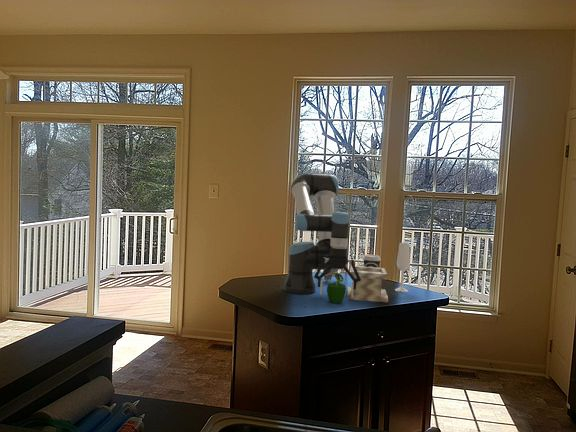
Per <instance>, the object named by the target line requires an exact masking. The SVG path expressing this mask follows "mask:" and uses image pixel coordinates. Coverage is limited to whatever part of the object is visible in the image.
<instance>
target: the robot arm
mask: <svg viewBox="0 0 576 432" xmlns="http://www.w3.org/2000/svg"><path fill="white" fill-rule="evenodd" d="M290 189H291V190H290V191H291V195H292V196H293V197H294V201H295V202H294V203H295V205H296V206H295V207H296V213H297V214H295V217H294V228H295V229H294V230H296V231H300V232H301V231H302V232H318V237H319V239H318V241H316V244H315V242H313V241H301V242H294V243H291V244H290V246H289V251H288V271H287V272H288V274H287V276H286V279H285V282H284V285H283V291H285V292H287V293H291V294H298V295H300V294H301V295H309V294H313V293H315V292H316V284H315V280H314V279H317V287H318V288H319V296H323V284H324V283H323V282H324V281H323V280H324V278H323V277H324V275H325V274H326V273H327V272H328V271H329V270H338V271H340V270H342V269H343V270H344V271H345V272H346V274H347V276H348V277H349V278H350V279H351V280H352V281H351V287H352V290H351V297H353V290H356V283H357V282H358V281H361V278H360V276H359V274H358V272H357V269H356V267H355V266H356V265H355V260H354V258H351V259H348V246H349V245H348V244H349V227H350V226H349V223H350V214H349V212H343V211H342V212H341V211H335V203H334V201H335V200H336V198H337V197H338V195H339V191H340V189H339V180H338V178H337V176H336V175H335V174H329V173H325V174H321V173H309V172H308V173H303V174H300V175H299V176H297V177H296V178H295V179H294V180H293V181H292V183H291V188H290ZM311 196H312V197H313V201H315V202H316V207H317V210H316V211H317V214H315V212H314V207H313V204H312V200H311ZM347 264H349V265H351V266H352V268H353V270H354V272H355V275H356V277H357V279H355V277H354V276H353V275H352V273H351V270H350V269H349V268H348V266H347ZM313 270H316V272H315V274H314V275H313V272H314V271H313ZM322 270H323V271H324V270H325V271H324V272H321V271H322ZM320 272H321V273H322V274H320ZM319 274H320V275H319Z"/></svg>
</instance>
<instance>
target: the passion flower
mask: <svg viewBox="0 0 576 432" xmlns="http://www.w3.org/2000/svg"><path fill="white" fill-rule="evenodd" d="M324 271H325V270H323V272H324ZM323 272H321V274H322V273H323ZM338 272H339V270H329V271H328V272H327V273H326V274H325V275H324V276H323V277H324V278H323V280H324V283H327V282H330V281H331V280H332V277H334V278H336V281H337V280H339V279H341V280H342V282H341V281H339V283H340V284H341V283H343V282H344V280H345V279H344V276H342V274H344V275H345V277H347V276H348V274H347V272H346V271H345V272H343V273H338ZM321 274H320V275H321Z"/></svg>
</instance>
